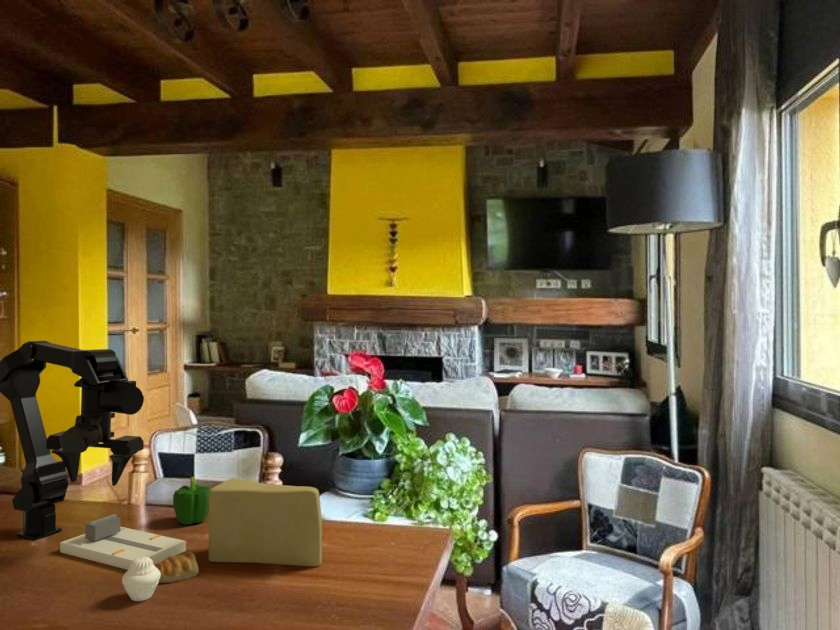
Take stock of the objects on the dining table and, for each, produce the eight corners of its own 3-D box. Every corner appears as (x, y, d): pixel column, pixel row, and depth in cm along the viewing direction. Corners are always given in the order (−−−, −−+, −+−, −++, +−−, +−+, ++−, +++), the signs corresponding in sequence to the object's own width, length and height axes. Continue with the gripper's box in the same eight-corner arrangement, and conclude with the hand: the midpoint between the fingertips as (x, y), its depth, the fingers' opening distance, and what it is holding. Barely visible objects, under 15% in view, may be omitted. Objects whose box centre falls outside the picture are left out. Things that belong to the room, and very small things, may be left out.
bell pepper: (203, 528, 144) (204, 484, 144) (167, 527, 144) (168, 483, 144) (216, 516, 153) (216, 474, 153) (182, 515, 153) (182, 474, 153)
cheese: (330, 556, 129) (331, 482, 129) (310, 576, 119) (311, 496, 119) (232, 545, 134) (232, 474, 134) (206, 563, 125) (206, 487, 125)
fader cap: (85, 538, 130) (85, 521, 130) (110, 529, 136) (110, 513, 136) (95, 540, 129) (95, 523, 129) (120, 531, 135) (120, 515, 135)
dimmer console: (60, 552, 129) (60, 541, 129) (111, 533, 140) (111, 523, 140) (137, 572, 120) (137, 560, 120) (185, 550, 131) (185, 540, 131)
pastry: (148, 590, 113) (149, 569, 113) (138, 578, 118) (138, 557, 118) (201, 577, 119) (201, 556, 119) (188, 565, 124) (188, 546, 124)
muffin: (132, 588, 113) (132, 549, 113) (166, 589, 113) (166, 550, 113) (114, 605, 107) (115, 563, 107) (150, 606, 107) (151, 564, 107)
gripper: (26, 413, 126) (24, 491, 126) (114, 419, 124) (112, 498, 124) (65, 404, 137) (63, 476, 137) (146, 409, 135) (143, 482, 135)
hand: (94, 483), depth 133 cm, fingers open, 9 cm apart
